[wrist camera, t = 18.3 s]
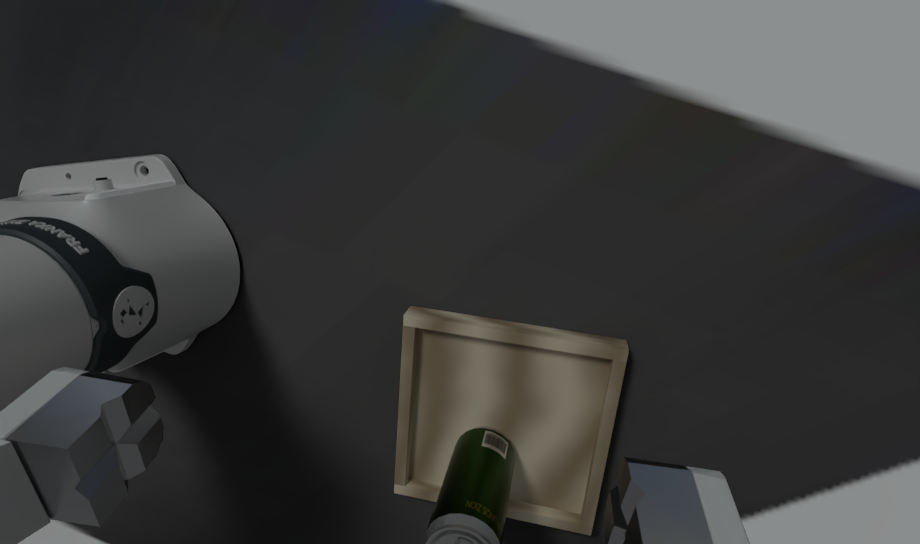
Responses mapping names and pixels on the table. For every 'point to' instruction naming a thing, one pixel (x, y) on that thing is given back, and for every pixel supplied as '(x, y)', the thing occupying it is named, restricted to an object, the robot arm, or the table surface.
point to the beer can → (474, 490)
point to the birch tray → (510, 408)
